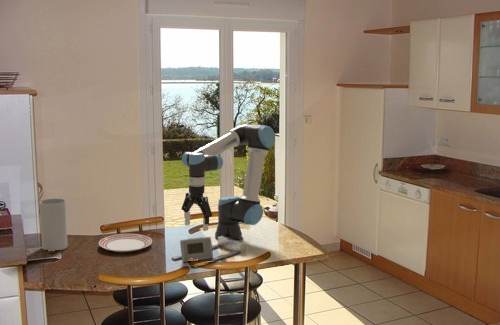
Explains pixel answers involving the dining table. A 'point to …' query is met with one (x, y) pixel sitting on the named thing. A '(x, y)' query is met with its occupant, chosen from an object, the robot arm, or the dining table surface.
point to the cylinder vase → (53, 224)
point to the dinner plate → (125, 242)
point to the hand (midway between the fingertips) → (196, 227)
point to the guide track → (224, 243)
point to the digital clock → (196, 248)
